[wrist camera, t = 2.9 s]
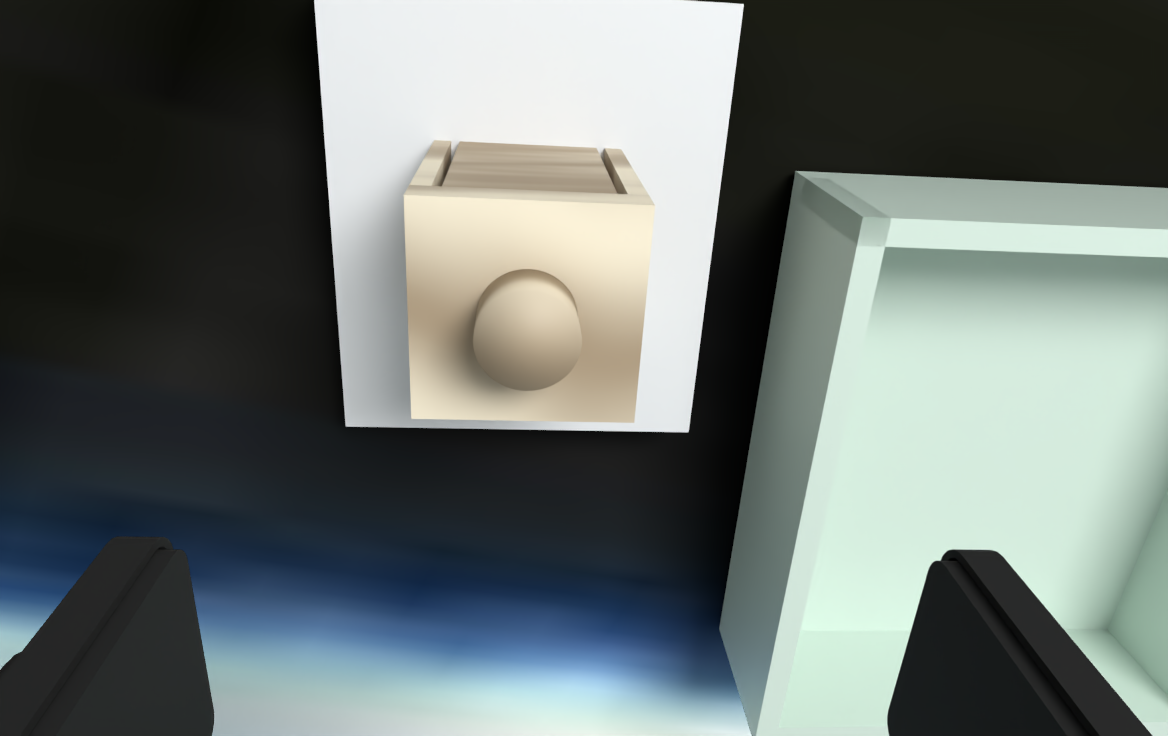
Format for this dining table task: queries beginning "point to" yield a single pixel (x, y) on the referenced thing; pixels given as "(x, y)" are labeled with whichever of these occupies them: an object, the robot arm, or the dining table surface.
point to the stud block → (533, 117)
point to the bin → (952, 434)
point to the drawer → (526, 283)
